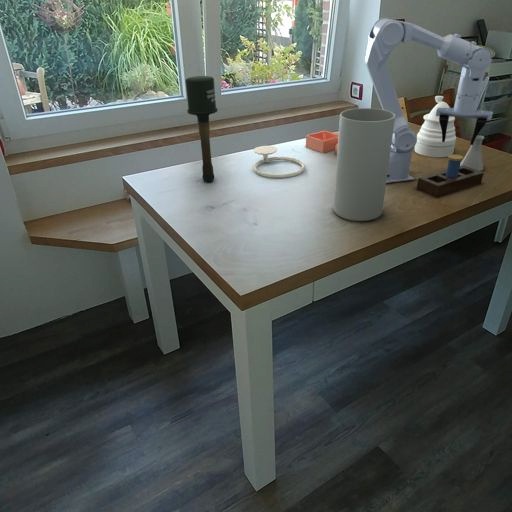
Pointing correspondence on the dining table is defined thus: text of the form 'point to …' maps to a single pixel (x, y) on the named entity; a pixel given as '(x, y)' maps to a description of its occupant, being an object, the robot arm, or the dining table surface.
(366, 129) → the cylinder vase
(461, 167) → the holder
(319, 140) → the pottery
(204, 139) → the stick grenade
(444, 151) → the honey pot
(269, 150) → the hand towel holder
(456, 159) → the capped tube
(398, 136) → the robot arm
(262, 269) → the dining table surface
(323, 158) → the dining table surface
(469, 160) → the flask
